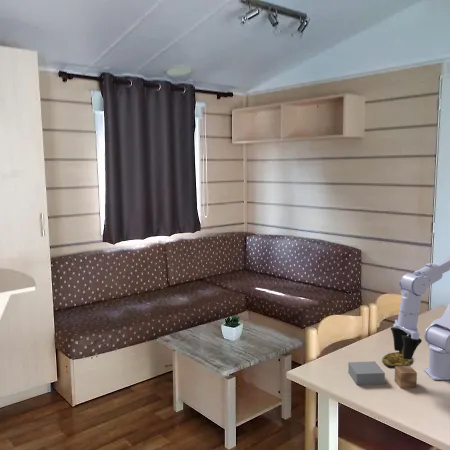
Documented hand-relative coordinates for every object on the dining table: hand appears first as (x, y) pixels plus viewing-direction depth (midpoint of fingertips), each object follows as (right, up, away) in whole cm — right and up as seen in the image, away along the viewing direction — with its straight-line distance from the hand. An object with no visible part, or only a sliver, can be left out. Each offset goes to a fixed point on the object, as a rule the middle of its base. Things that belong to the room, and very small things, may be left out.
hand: (402, 354), depth 149 cm
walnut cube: (+1, -10, +1) cm, 10 cm away
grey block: (-10, -10, +6) cm, 15 cm away
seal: (+5, -8, +19) cm, 21 cm away
